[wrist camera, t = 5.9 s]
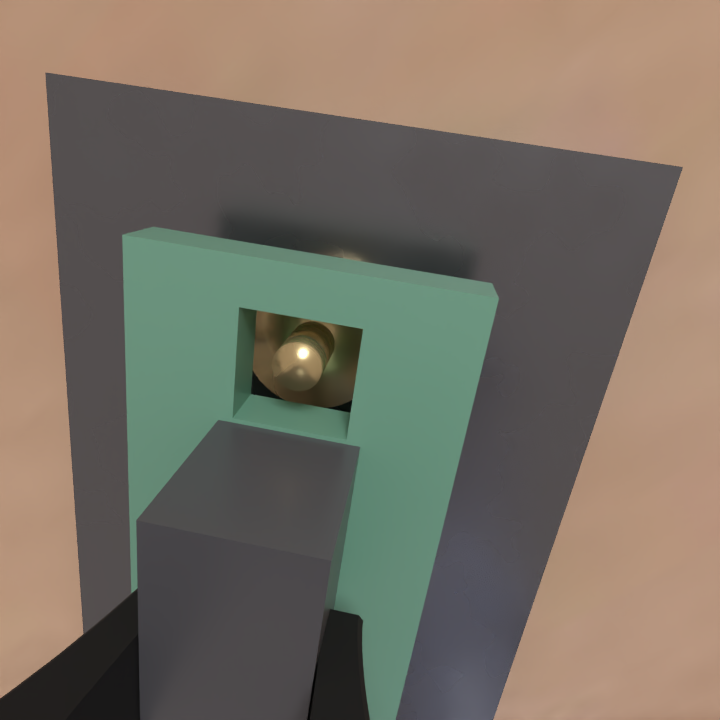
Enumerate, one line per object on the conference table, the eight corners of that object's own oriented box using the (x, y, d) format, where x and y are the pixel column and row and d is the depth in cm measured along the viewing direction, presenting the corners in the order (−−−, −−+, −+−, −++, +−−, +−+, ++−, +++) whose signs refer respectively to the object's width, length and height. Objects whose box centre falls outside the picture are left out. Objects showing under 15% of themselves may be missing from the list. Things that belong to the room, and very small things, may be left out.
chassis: (469, 722, 20) (479, 889, 16) (117, 643, 21) (29, 778, 17) (647, 165, 13) (766, 170, 8) (97, 84, 14) (-72, 46, 9)
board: (377, 766, 16) (357, 979, 12) (155, 714, 17) (61, 902, 12) (492, 283, 11) (529, 366, 6) (153, 226, 11) (-17, 269, 7)
